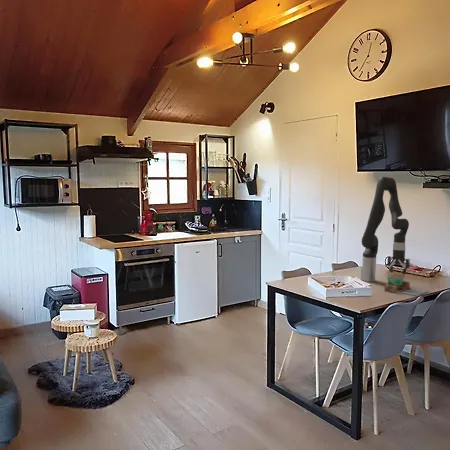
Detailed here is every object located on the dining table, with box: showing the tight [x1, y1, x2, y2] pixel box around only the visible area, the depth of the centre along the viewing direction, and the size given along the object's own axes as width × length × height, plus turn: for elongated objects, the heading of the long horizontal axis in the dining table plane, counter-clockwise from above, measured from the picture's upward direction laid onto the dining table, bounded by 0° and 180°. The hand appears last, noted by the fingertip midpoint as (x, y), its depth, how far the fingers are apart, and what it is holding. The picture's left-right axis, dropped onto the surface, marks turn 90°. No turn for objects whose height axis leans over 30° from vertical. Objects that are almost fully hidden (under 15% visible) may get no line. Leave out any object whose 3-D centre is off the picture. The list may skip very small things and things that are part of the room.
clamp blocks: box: [384, 280, 411, 294], centre depth 303 cm, size 7×21×4 cm, turn 133°
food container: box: [386, 272, 405, 291], centre depth 302 cm, size 12×6×10 cm, turn 105°
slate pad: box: [401, 287, 429, 297], centre depth 294 cm, size 10×16×1 cm, turn 133°
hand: (397, 273), depth 302 cm, fingers open, 8 cm apart
